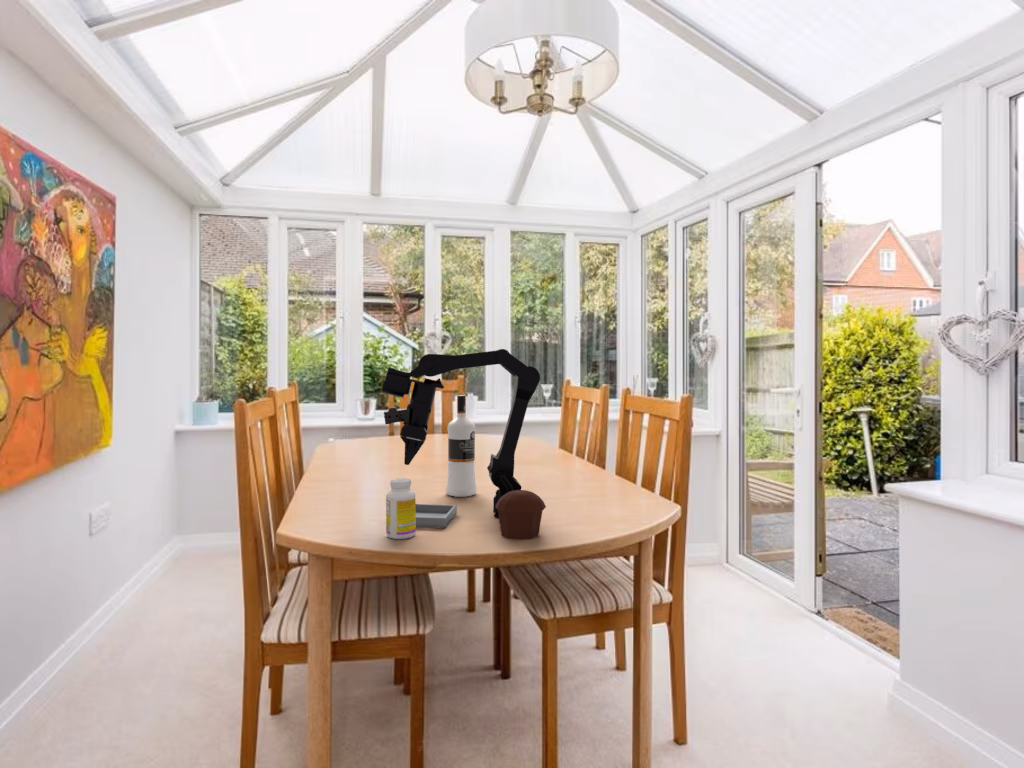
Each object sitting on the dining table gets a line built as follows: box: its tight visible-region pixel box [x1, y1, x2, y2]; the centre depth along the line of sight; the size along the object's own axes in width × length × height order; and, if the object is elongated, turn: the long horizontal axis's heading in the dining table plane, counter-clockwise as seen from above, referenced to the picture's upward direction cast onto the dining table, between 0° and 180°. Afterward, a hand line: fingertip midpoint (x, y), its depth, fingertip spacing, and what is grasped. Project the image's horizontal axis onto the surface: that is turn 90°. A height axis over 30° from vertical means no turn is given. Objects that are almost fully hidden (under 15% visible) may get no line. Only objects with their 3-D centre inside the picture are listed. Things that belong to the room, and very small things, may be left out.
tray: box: [415, 503, 458, 529], centre depth 150 cm, size 13×13×2 cm
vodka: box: [445, 394, 478, 498], centre depth 179 cm, size 9×9×30 cm
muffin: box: [495, 489, 547, 541], centre depth 138 cm, size 12×11×10 cm
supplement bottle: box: [385, 477, 417, 540], centre depth 136 cm, size 7×7×13 cm
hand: (407, 461), depth 152 cm, fingers open, 9 cm apart
